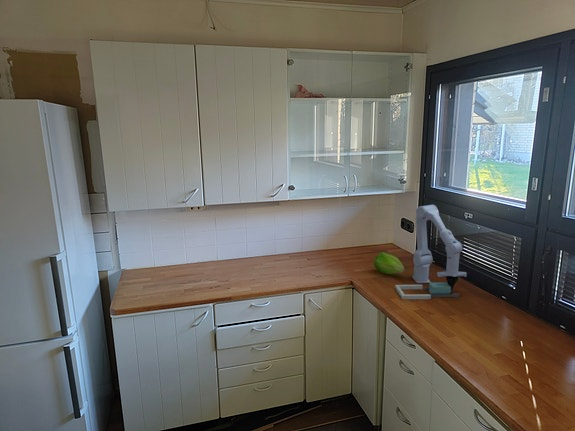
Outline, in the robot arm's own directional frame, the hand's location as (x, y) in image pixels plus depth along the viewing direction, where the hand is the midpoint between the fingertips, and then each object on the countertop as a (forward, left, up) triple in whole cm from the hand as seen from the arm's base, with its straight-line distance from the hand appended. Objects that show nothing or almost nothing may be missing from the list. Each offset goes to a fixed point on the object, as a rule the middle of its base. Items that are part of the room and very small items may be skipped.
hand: (450, 289), depth 201 cm
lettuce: (-28, -25, -3) cm, 38 cm away
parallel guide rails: (0, -5, -2) cm, 5 cm away
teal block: (0, -6, -2) cm, 6 cm away
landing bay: (0, -19, -2) cm, 19 cm away
